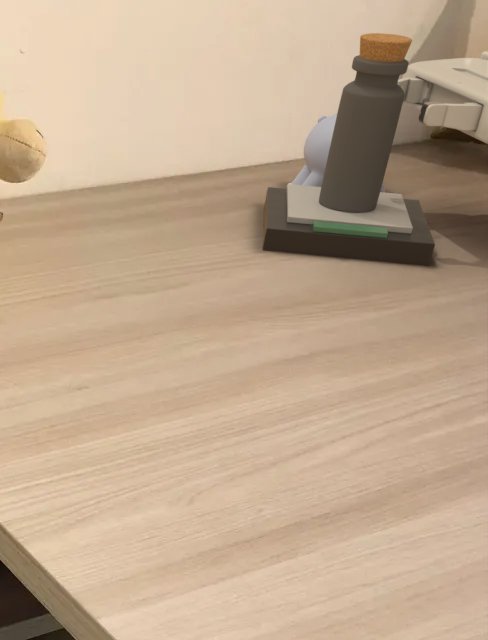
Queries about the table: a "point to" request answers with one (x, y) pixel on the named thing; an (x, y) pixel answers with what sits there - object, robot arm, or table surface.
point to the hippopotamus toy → (317, 153)
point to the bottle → (365, 125)
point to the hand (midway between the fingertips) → (400, 103)
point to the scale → (346, 228)
